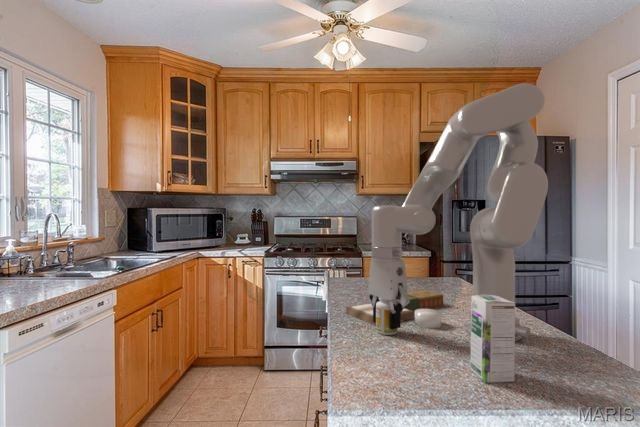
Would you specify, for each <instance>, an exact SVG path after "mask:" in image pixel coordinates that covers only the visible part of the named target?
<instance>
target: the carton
mask: <svg viewBox="0 0 640 427" xmlns="http://www.w3.org/2000/svg"><path fill="white" fill-rule="evenodd" d="M407 297H408V298H409V300H410V302H409V303H408V304H407V305H406V306H405V309H409V310H412V311H415V310H417V309H433V308H436V307H437V308H439V307H443V306H444V294H442V293H440V292H436V291H433V290H428V289H422V290H421V289H420V290H416V291H415V290H413V291H407ZM400 300H401V299H400ZM395 303H396V302H395Z"/></svg>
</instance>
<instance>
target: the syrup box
mask: <svg viewBox="0 0 640 427" xmlns="http://www.w3.org/2000/svg"><path fill="white" fill-rule="evenodd" d="M470 298H471V304H470V308H471V309H470V310H471V311H470V319H471V320H470V323H471V334H470V371H471V372H473V373H474V374H475V375H476V376H477V377H478V378H479V379H480V380H482V381H483V383H485V384H488V383H489V384H493V383H495V384H496V383H510V382H511V383H512V382H513V383H514V382H515V370H516V369H515V364H516V363H515V362H516V361H515V360H516V359H515V358H516V346H515V345H516V341H515V318H516V301H515V302H511V301H508V300H506V299H504V298H501V297H499V296H494V295H475V296H473V295H471V297H470Z"/></svg>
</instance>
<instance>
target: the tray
mask: <svg viewBox="0 0 640 427" xmlns="http://www.w3.org/2000/svg"><path fill="white" fill-rule="evenodd" d="M371 303H372V302H369V303H363V304H357V305H351V306H346V307H345V308H346V311H345V312H346V315H348V316H351V317H354V318H356V319H358V320H361V321H364V322H365V323H369V324H371V325H373V326H375V327H376V323H375V322H373V306H372V305H371ZM411 319H415V310H413V311H412V310H409V309H405V308H404V309H403V311H402V312H401V322H402V321H409V320H411Z"/></svg>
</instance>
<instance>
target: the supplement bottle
mask: <svg viewBox="0 0 640 427" xmlns="http://www.w3.org/2000/svg"><path fill="white" fill-rule="evenodd" d="M378 299H379V300H380V301H378V302H377V303H376V326H375V332H376V333H378V334H379V335H383V336H392V335H396V334H397V332H398V328H396V329H390V328H389V313H391V308H390V304H389V300H385V299H383V298H381V297H379V298H378ZM394 304H395V306H396V305H397V304H396V303H395V302H394Z"/></svg>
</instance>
